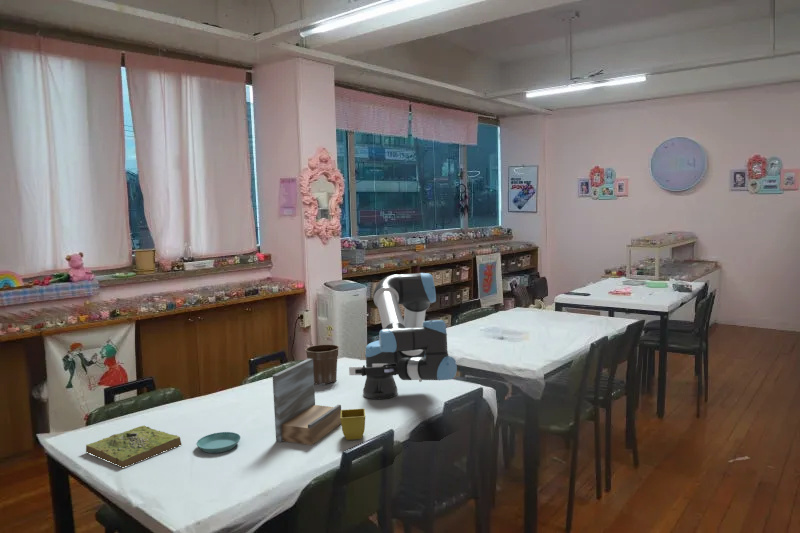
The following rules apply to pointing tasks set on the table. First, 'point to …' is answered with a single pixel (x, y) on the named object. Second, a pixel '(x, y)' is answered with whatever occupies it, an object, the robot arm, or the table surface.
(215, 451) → the saucer
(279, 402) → the book stand
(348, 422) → the flower pot
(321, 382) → the plant pot
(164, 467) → the table surface
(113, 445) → the miniature landscape model
